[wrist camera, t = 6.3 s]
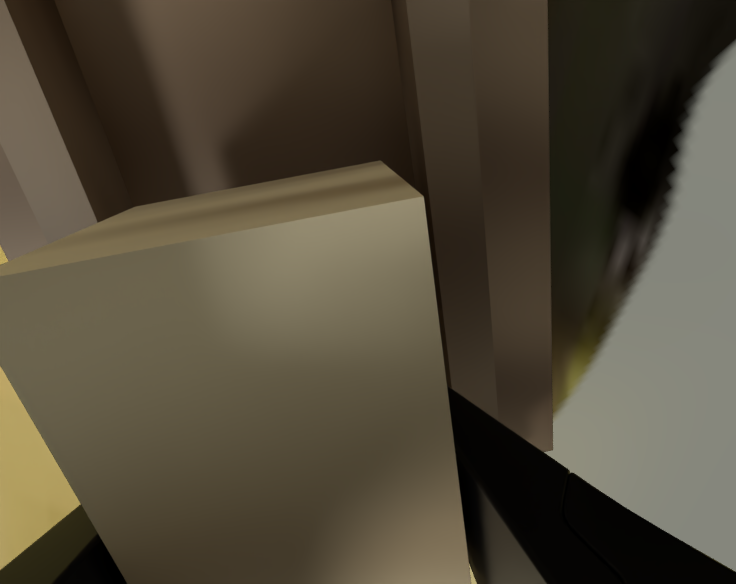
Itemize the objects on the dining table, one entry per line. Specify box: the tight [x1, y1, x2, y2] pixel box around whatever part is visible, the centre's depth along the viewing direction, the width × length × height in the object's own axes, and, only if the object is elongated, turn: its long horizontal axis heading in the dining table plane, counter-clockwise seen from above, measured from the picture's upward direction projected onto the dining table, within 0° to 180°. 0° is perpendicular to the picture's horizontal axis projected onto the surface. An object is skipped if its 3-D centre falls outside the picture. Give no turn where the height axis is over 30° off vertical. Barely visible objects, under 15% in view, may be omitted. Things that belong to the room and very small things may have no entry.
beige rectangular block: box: [0, 161, 471, 584], centre depth 8 cm, size 9×4×4 cm, turn 10°
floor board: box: [0, 0, 553, 452], centre depth 8 cm, size 18×12×5 cm, turn 10°
